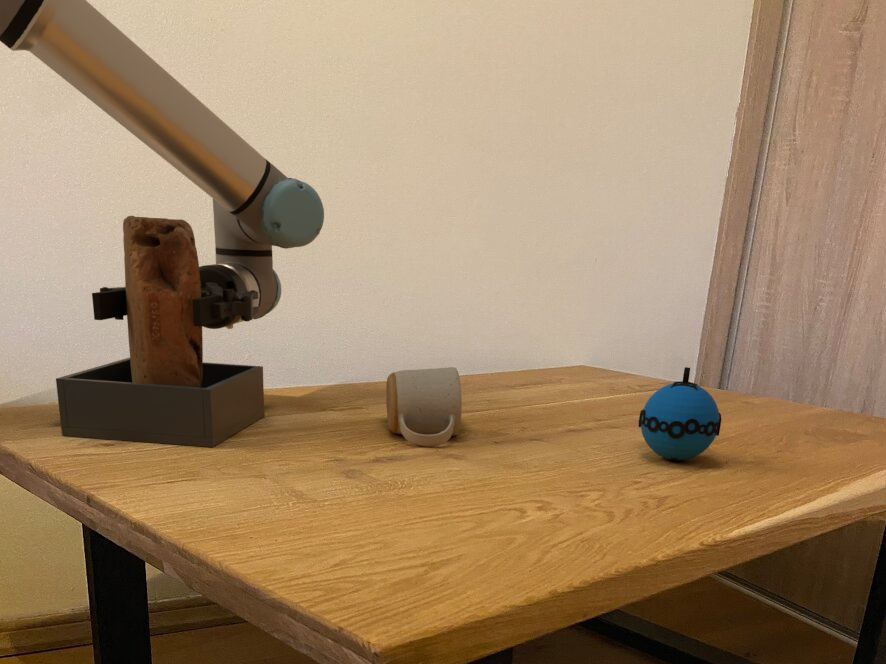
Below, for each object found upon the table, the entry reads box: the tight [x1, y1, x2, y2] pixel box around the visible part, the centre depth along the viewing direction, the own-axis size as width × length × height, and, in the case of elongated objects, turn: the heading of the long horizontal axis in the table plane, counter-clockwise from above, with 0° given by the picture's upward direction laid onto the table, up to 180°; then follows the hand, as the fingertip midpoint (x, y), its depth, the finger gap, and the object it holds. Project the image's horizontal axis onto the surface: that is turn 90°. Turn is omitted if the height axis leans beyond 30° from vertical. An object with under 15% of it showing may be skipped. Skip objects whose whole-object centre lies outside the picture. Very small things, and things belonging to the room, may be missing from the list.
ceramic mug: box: [385, 366, 463, 447], centre depth 105 cm, size 11×8×8 cm
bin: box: [55, 357, 265, 448], centre depth 105 cm, size 17×18×6 cm
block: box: [122, 215, 204, 388], centre depth 101 cm, size 11×8×20 cm
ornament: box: [638, 366, 722, 462], centre depth 100 cm, size 9×9×10 cm
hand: (146, 309), depth 97 cm, fingers closed on block, 10 cm apart
